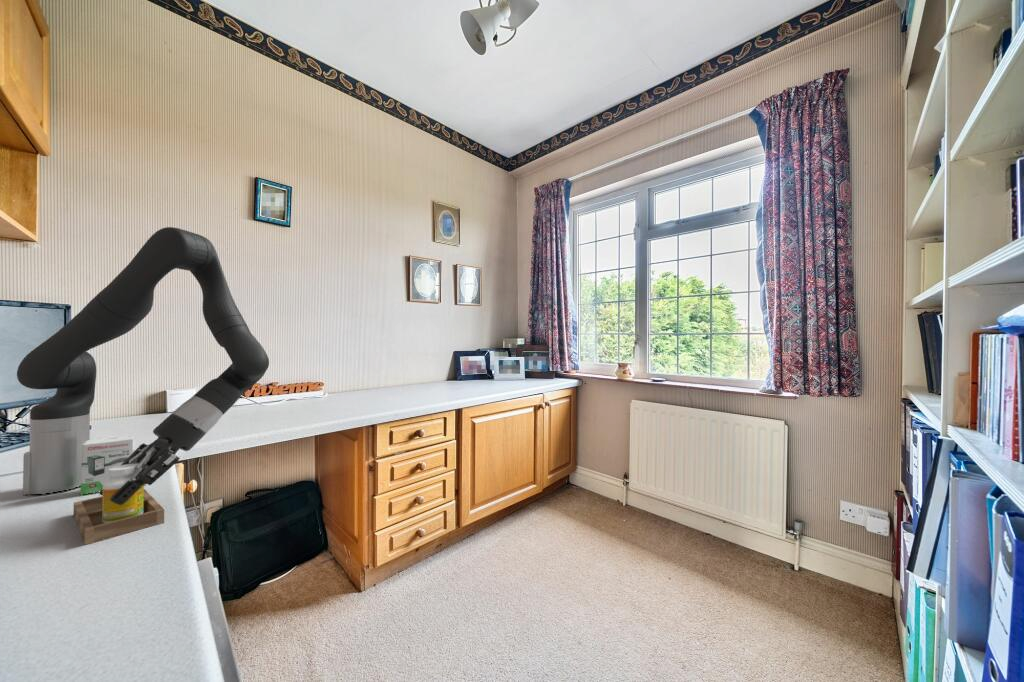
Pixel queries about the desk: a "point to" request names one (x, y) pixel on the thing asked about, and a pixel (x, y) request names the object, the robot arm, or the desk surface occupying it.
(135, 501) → the supplement bottle
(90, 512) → the organizer
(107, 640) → the desk surface
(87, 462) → the ink box
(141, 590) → the desk surface
